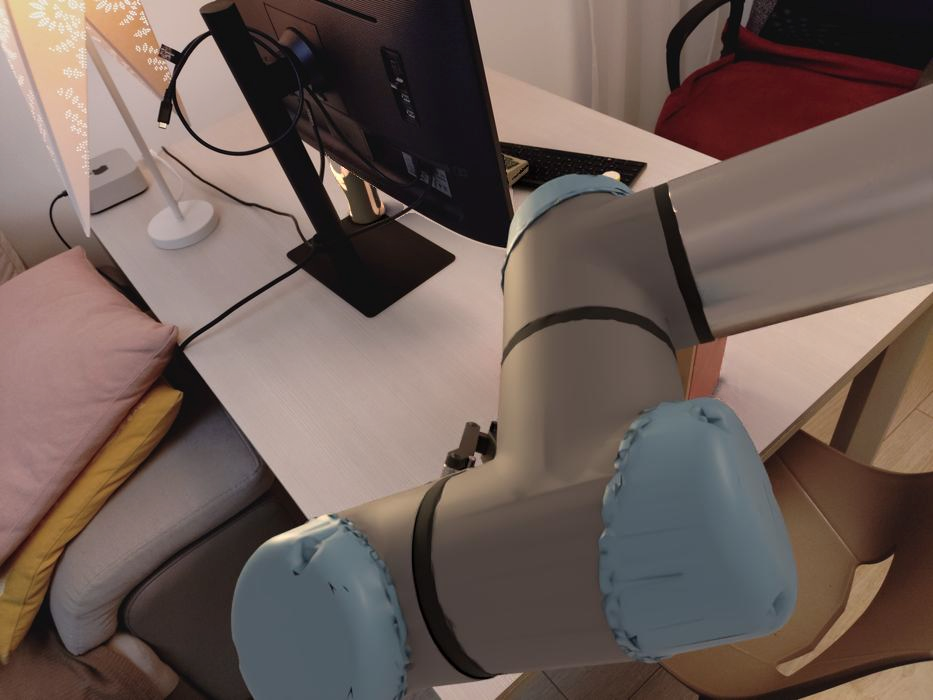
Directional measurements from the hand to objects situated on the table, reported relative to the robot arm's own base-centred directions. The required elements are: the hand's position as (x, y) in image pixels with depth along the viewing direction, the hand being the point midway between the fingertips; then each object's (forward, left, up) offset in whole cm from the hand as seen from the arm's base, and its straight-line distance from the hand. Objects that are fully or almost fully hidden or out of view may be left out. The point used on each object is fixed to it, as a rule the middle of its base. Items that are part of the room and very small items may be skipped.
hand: (607, 470), depth 53 cm
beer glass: (+61, -35, -13) cm, 72 cm away
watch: (+23, -51, -13) cm, 57 cm away
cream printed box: (+49, -53, -13) cm, 73 cm away
